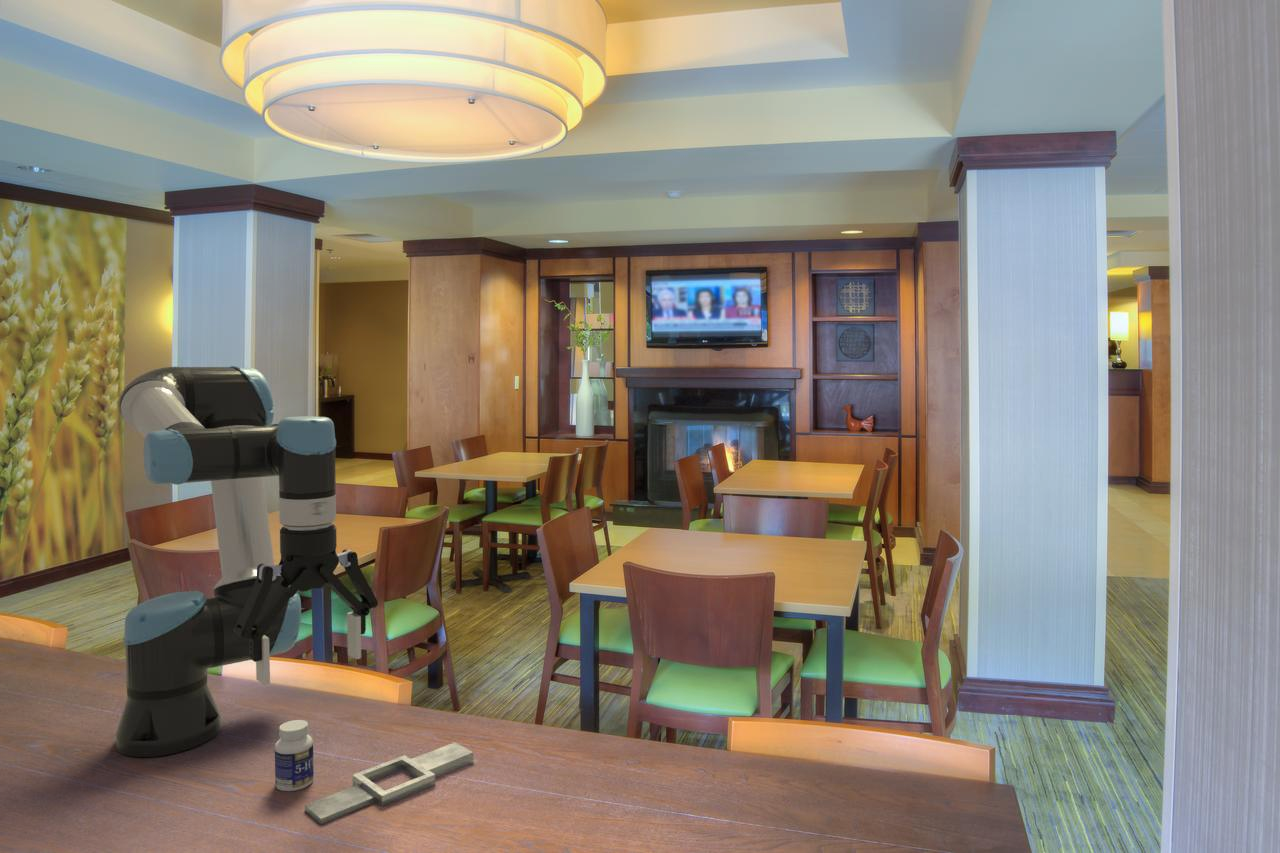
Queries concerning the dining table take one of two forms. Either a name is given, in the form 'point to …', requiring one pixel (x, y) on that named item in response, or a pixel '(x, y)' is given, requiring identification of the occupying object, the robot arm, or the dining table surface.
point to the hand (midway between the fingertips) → (310, 668)
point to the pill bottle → (294, 756)
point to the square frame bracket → (369, 793)
